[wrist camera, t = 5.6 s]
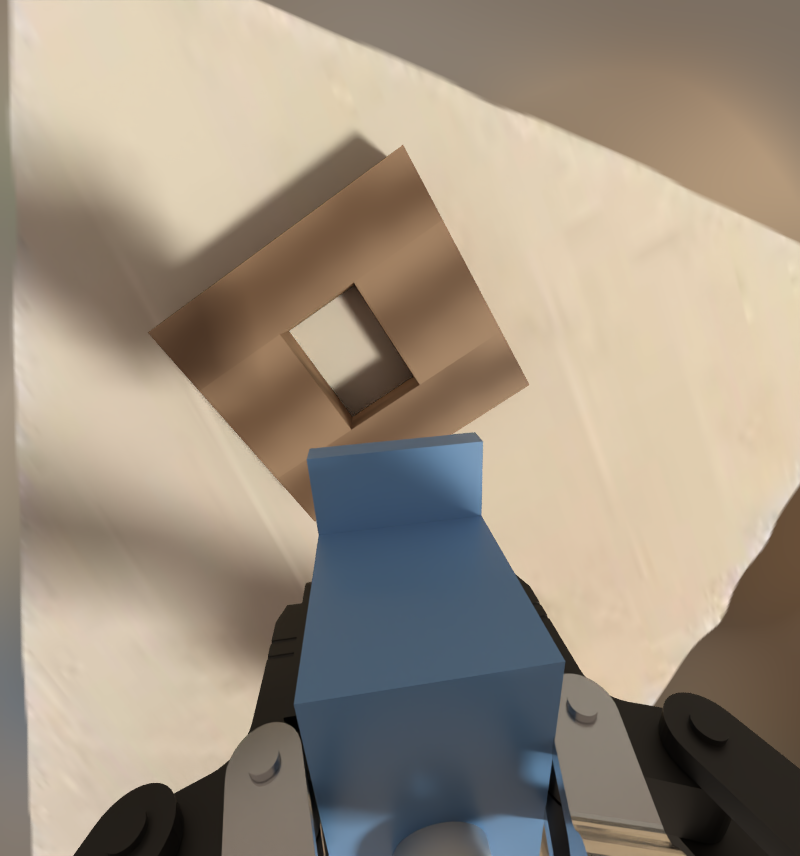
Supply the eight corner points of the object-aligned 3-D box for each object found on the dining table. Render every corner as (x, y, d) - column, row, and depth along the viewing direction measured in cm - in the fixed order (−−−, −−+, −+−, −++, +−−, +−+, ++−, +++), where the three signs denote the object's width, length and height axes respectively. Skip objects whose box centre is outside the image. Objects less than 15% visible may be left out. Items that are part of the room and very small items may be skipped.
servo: (320, 411, 11) (250, 652, 4) (446, 399, 12) (621, 598, 4) (353, 645, 15) (352, 1025, 7) (449, 632, 15) (548, 978, 8)
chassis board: (512, 376, 28) (529, 384, 25) (319, 500, 30) (315, 521, 27) (397, 164, 23) (403, 144, 20) (172, 329, 25) (147, 332, 22)
